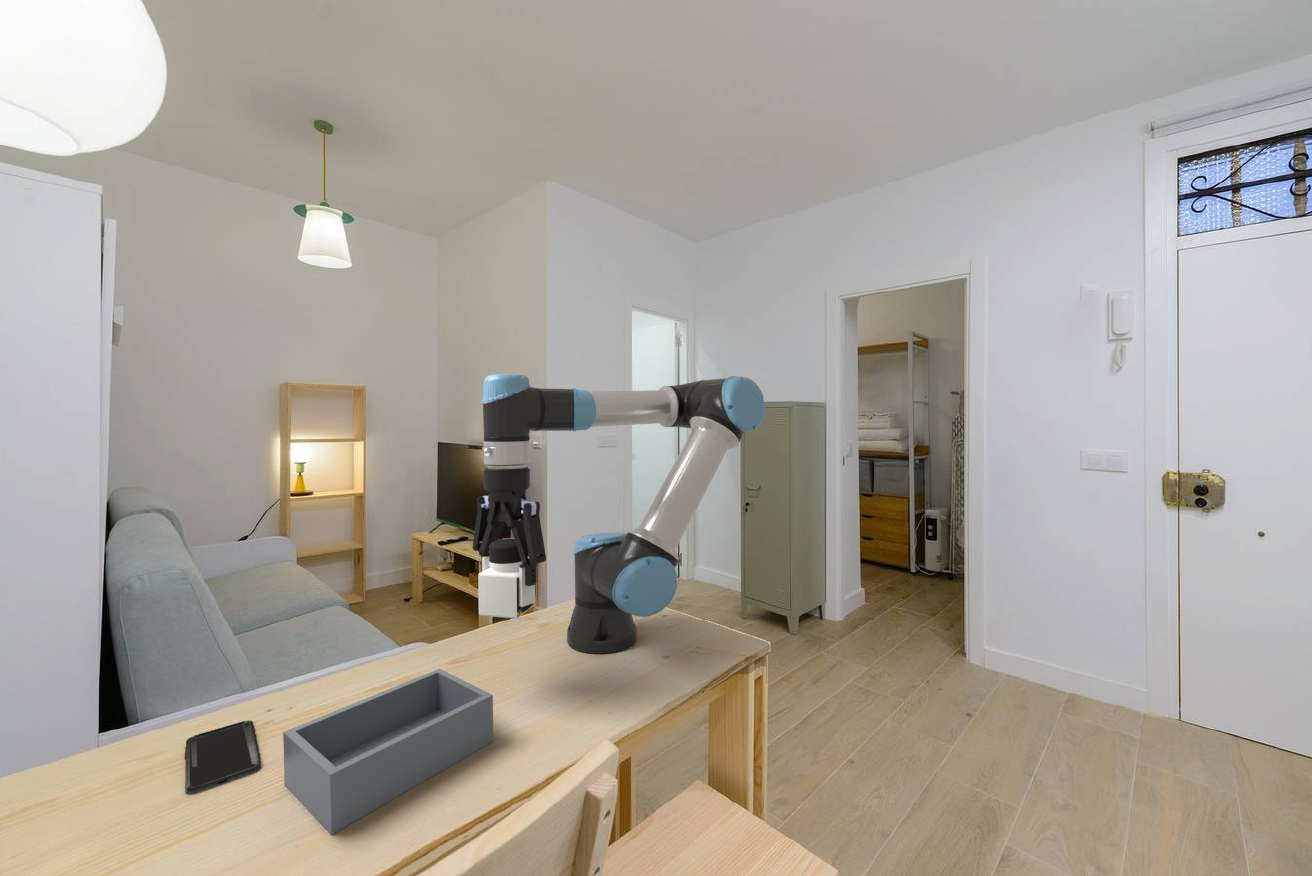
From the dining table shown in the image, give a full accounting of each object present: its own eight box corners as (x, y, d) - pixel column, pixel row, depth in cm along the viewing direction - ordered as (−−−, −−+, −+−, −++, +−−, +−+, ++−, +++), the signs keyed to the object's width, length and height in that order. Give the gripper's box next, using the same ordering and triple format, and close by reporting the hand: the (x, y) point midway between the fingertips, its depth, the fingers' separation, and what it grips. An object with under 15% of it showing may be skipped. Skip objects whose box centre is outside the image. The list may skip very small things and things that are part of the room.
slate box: (440, 710, 86) (439, 668, 86) (493, 741, 78) (492, 694, 78) (284, 784, 68) (283, 732, 68) (331, 834, 60) (330, 775, 60)
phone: (252, 718, 83) (261, 764, 71) (252, 725, 83) (261, 772, 71) (184, 738, 77) (183, 791, 66) (185, 745, 77) (183, 800, 66)
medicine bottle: (517, 619, 85) (517, 546, 85) (477, 616, 87) (477, 543, 86) (536, 604, 92) (536, 536, 92) (499, 601, 94) (498, 534, 93)
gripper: (449, 464, 92) (451, 591, 93) (532, 471, 79) (533, 619, 80) (486, 462, 98) (487, 581, 99) (568, 468, 85) (569, 605, 86)
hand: (508, 598), depth 89 cm, fingers closed on medicine bottle, 9 cm apart
